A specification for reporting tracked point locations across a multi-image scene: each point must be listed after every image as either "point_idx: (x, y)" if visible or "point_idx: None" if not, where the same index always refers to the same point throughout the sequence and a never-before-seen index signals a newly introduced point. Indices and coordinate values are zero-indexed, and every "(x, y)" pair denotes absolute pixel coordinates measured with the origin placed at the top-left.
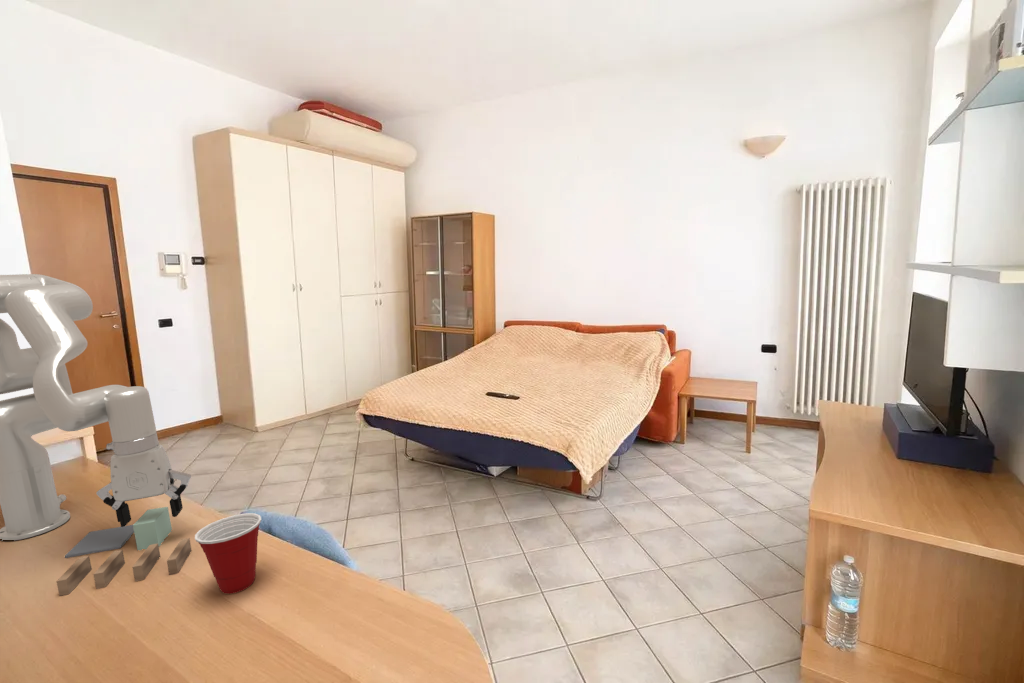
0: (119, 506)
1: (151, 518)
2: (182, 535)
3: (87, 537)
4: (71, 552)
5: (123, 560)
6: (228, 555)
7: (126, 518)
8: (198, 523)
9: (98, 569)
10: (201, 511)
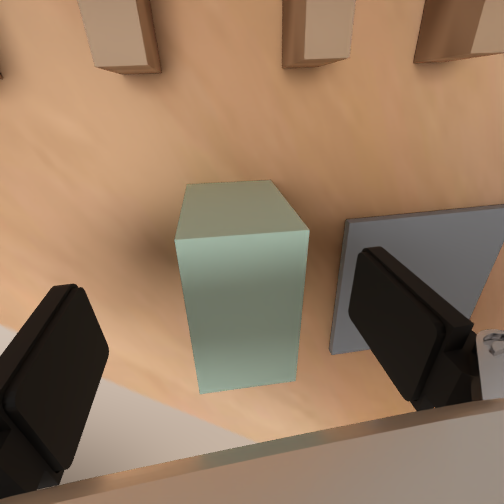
0: (478, 356)
1: (223, 289)
2: (132, 257)
3: (464, 307)
4: (500, 224)
5: (287, 54)
6: None
7: (370, 297)
8: (120, 330)
9: None
10: (162, 395)
